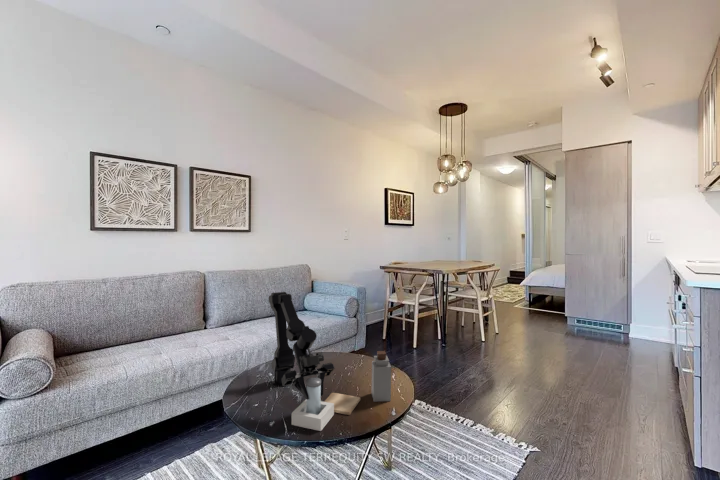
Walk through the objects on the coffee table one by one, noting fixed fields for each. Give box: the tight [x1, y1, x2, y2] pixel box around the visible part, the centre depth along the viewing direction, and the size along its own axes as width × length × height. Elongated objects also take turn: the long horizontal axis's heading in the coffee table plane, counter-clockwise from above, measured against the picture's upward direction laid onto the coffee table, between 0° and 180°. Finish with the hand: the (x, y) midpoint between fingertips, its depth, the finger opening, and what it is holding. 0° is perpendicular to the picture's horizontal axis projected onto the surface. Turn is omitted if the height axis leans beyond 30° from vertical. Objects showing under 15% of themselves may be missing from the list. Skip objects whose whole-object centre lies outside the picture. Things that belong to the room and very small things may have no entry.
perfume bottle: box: [371, 350, 392, 403], centre depth 137 cm, size 7×7×18 cm
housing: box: [291, 399, 335, 432], centre depth 120 cm, size 11×11×4 cm
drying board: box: [323, 392, 361, 416], centre depth 131 cm, size 12×12×1 cm
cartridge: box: [305, 376, 322, 415], centre depth 120 cm, size 5×5×12 cm
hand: (315, 397), depth 119 cm, fingers closed on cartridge, 5 cm apart
